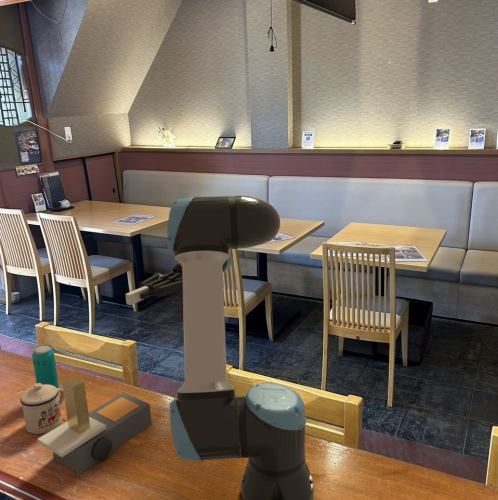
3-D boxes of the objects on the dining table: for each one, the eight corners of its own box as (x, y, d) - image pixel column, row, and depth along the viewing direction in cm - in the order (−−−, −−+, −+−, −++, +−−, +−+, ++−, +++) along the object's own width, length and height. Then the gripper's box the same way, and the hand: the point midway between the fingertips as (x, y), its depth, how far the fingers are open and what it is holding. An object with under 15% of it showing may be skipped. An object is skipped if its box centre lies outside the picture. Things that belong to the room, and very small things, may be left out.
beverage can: (44, 390, 148) (36, 344, 144) (63, 390, 148) (56, 343, 144) (35, 401, 142) (27, 353, 138) (55, 401, 142) (48, 353, 138)
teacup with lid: (42, 439, 126) (35, 397, 123) (17, 429, 130) (10, 389, 127) (78, 413, 136) (72, 374, 133) (54, 405, 140) (48, 367, 137)
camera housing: (125, 412, 136) (123, 392, 134) (155, 425, 130) (153, 405, 128) (53, 457, 119) (49, 435, 117) (83, 476, 113) (79, 452, 111)
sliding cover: (82, 416, 124) (75, 368, 120) (106, 428, 119) (100, 379, 115) (38, 442, 114) (29, 391, 111) (61, 457, 109) (53, 404, 106)
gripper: (209, 289, 142) (147, 318, 124) (174, 281, 150) (112, 308, 131) (207, 263, 140) (145, 290, 122) (173, 257, 148) (109, 281, 129)
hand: (128, 299), depth 127 cm, fingers closed
